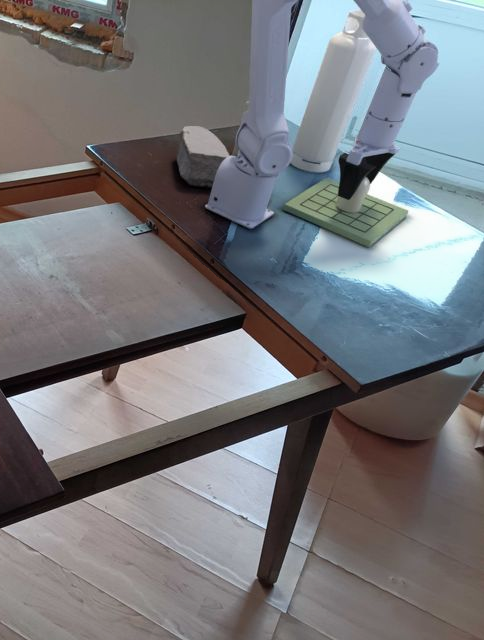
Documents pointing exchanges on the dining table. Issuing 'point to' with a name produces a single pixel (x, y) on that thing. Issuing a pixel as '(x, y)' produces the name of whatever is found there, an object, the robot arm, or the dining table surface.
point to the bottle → (333, 96)
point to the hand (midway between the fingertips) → (353, 190)
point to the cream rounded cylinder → (355, 198)
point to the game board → (345, 213)
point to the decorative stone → (199, 156)
